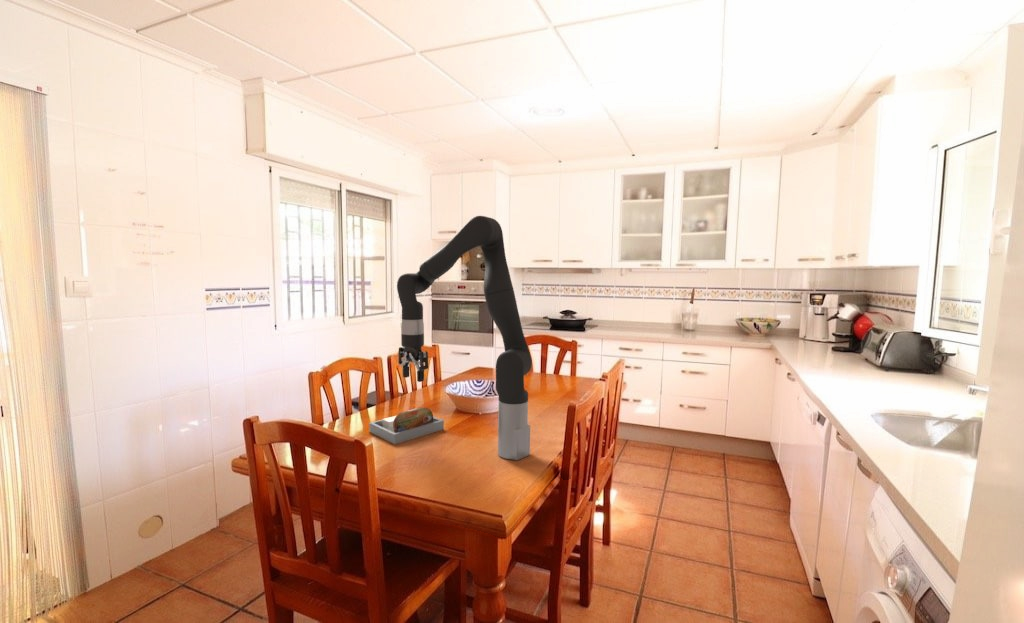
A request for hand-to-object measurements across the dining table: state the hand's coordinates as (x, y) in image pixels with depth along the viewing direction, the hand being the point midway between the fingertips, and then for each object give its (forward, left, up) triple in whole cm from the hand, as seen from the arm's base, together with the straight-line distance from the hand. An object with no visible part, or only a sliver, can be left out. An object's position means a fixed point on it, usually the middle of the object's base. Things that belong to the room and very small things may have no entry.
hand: (413, 379), depth 156 cm
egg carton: (+8, 0, -19) cm, 21 cm away
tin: (0, 0, -19) cm, 19 cm away
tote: (+4, 0, -20) cm, 20 cm away
